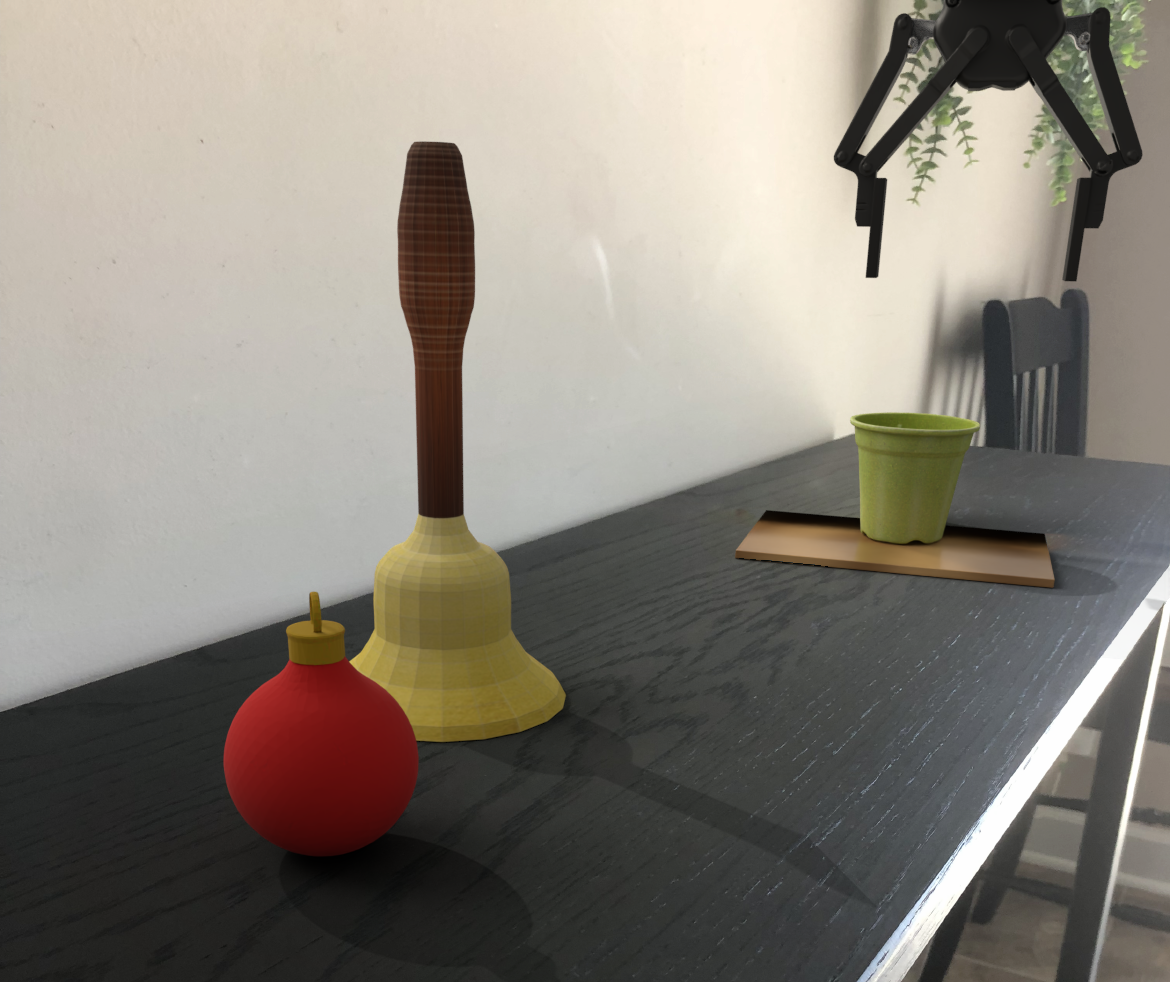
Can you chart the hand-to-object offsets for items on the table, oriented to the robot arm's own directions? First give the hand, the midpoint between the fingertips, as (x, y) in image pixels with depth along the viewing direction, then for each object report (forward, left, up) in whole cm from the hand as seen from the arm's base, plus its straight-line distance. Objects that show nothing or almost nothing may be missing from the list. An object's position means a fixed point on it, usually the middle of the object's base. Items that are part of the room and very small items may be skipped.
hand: (968, 279), depth 90 cm
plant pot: (+2, +2, -19) cm, 19 cm away
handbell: (+23, +45, -19) cm, 54 cm away
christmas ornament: (+21, +62, -19) cm, 68 cm away
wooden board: (+3, +2, -19) cm, 19 cm away
